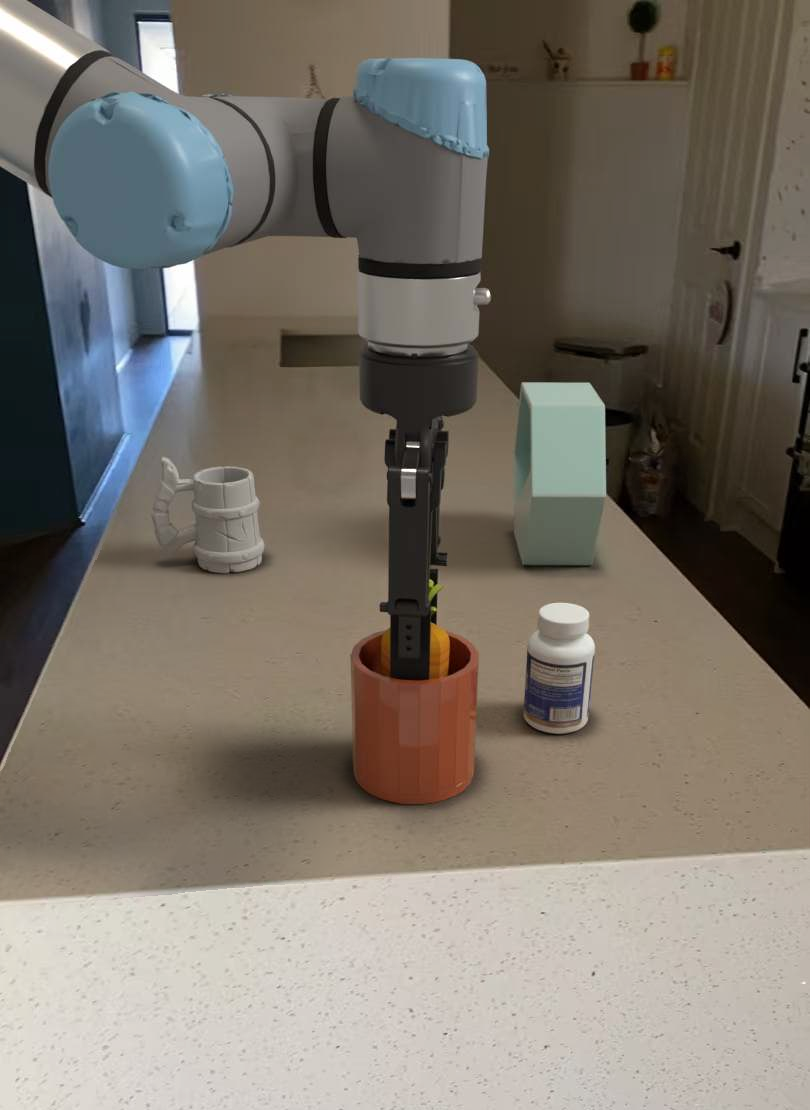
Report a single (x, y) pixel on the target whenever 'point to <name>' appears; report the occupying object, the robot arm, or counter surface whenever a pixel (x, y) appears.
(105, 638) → the counter surface
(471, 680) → the cup
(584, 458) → the planter
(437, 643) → the carrot
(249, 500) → the mug
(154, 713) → the counter surface
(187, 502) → the counter surface
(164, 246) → the robot arm
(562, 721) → the pill bottle
